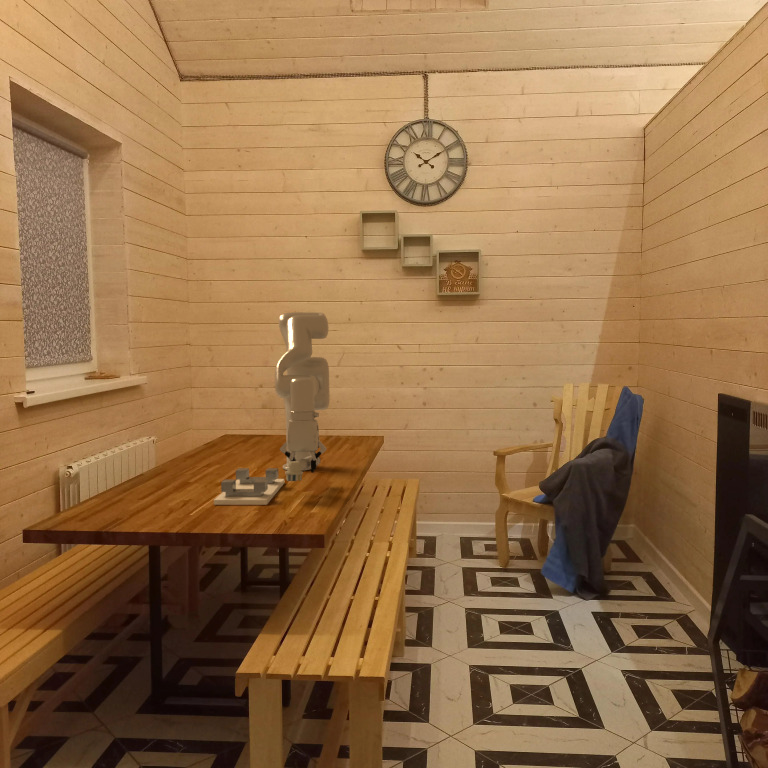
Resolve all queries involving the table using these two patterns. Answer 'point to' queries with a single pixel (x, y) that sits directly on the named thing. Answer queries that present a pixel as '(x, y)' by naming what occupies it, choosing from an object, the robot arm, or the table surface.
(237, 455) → the table surface
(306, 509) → the table surface
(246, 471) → the v blocks
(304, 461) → the white handheld device
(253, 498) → the stand board
